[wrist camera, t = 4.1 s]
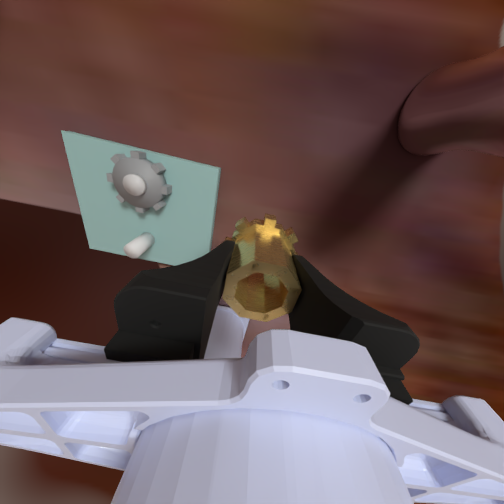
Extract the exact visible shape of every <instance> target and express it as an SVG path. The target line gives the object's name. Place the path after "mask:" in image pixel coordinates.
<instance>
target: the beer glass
mask: <svg viewBox="0 0 504 504" xmlns="http://www.w3.org/2000/svg"><path fill="white" fill-rule="evenodd" d="M398 137H399V140H400V143H401V144H402V146H403V147H404V148H405V149H406V150H407V151H408V152H410V153H412V154H415V155H421V156H424V155H433V154H438V153H443V152H448V151H454V150H466V151H473V152H479V153H484V154H488V155H493V156H497V157H502V158H504V46H503V47H501V48H499V49H497V50H495V51H492V52H490V53H488V54H486V55H483V56H481V57H478V58H474V59H471V60H466V61H460V62H455V63H451V64H448V65H445V66H442V67H440V68H438V69H437V70H435V71H433V72H432V73H430V74H429V75H428V76H427V77H425V78H424V79H423V80H422V81H421V82H420V83H419V84H418V85H417V86H416V87H415V88H414V90H413V91H412V92H411V94H410V95H409V97H408V98H407V100H406V102H405V104H404V106H403V108H402V110H401V113H400V117H399V121H398Z"/></svg>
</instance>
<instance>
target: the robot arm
mask: <svg viewBox="0 0 504 504" xmlns="http://www.w3.org/2000/svg"><path fill="white" fill-rule="evenodd" d="M235 243H236V242H235V241H230V240H225V241H224V242H223V243H222V244H220V245H219V246H218V247H216V248H215V249H213V250H212V251H210V252H209V253H207V254H205V255H204V256H202V257H199V258H197V259H195V260H192V261H189V262H186V263H183V264H180V265H176V266H171V267H166V268H160V269H153V270H143V271H141V272H140V273H138V274H137V275H136V276H135V277H134V278H133V279H132V280H131V281H130V282H129V283H128V284H127V285H126V286H125V287H124V288H123V289H122V290H121V291H120V292H119V293H118V294H117V295H116V297H115V300H114V309H115V314H116V319H117V323H118V328H119V330H118V332H117V333H116V334H115V335H114V337H113V338H112V339H111V340H110V342H109V343H108V344H107V345H106V347H104V346H99V345H93V344H87V343H81V342H75V341H70V340H64V339H58V338H57V335H56V332H55V330H54V329H53V327H52V326H50V325H49V324H46V323H43V322H37V321H32V320H27V319H21V318H10V319H8V320H7V321H5V322H4V323H2V324H1V325H0V445H4V446H10V447H16V448H21V449H25V450H30V451H36V452H41V453H45V454H49V455H54V456H59V457H63V458H68V459H72V460H77V461H82V462H86V463H91V464H96V465H100V466H105V467H109V468H114V469H119V470H123V471H124V474H123V476H122V478H121V481H120V483H119V486H118V488H117V490H116V493H115V495H114V497H113V500H112V502H111V504H414V503H413V502H419V503H440V504H441V503H442V504H504V422H503V421H502V419H501V418H500V417H499V416H498V415H497V414H496V413H495V412H494V411H493V409H492V408H491V407H490V406H489V405H488V404H487V403H486V402H485V400H482V399H479V398H473V397H467V396H461V395H456V396H452V397H450V398H448V399H446V400H445V401H444V402H443V403H442V404H440V403H434V402H428V401H422V400H417V399H412V398H411V396H410V395H409V393H408V391H407V390H406V388H405V387H404V385H403V383H402V382H401V380H404V375H403V373H402V372H401V370H400V368H401V367H402V366H403V365H405V364H406V363H407V362H408V361H409V360H410V359H411V358H412V357H413V356H414V355H415V354H416V353H417V351H418V349H419V346H420V343H419V339H418V337H417V336H416V335H415V333H414V332H413V331H412V330H411V329H410V327H409V326H408V325H407V324H406V323H404V322H402V321H399V320H397V319H395V318H392V317H390V316H388V315H386V314H383V313H381V312H379V311H377V310H375V309H373V308H371V307H369V306H367V305H366V304H364V303H362V302H360V301H358V300H357V299H355V298H353V297H352V296H350V295H349V294H347V293H346V292H344V291H343V290H341V289H340V288H338V287H337V286H336V285H334V284H333V283H332V282H330V281H329V280H328V279H327V278H326V277H324V276H323V275H322V274H321V273H320V272H319V271H318V270H317V269H316V268H315V267H313V266H312V265H311V264H310V263H309V262H308V261H307V260H306V259H305V258H304V257H302V256H299V255H295V254H293V255H292V258H293V262H294V265H295V268H296V272H297V275H298V279H299V282H300V285H301V289H302V290H301V293H300V295H299V297H298V299H297V301H296V303H295V306H294V308H293V310H292V312H290V313H288V315H289V321H290V330H288V329H271V330H268V331H265V332H263V333H260V334H258V335H257V336H256V337H255V338H254V339H253V341H252V342H251V343H250V345H249V348H248V350H247V353H246V355H245V357H244V358H241V350H242V342H243V339H244V335H245V332H246V329H247V326H248V323H249V318H244V317H239V316H238V315H237V314H236V313H235V312H234V311H233V309H232V308H230V307H225V306H220V305H218V304H219V301H220V299H221V296H222V293H223V291H224V287H225V281H226V276H227V271H228V268H229V264H230V261H231V257H232V253H233V251H234V247H235Z"/></svg>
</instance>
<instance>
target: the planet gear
mask: <svg viewBox="0 0 504 504" xmlns="http://www.w3.org/2000/svg"><path fill="white" fill-rule="evenodd" d="M235 228H236V229H237V230H236V231H234V234H233V237H232V238H229V237H226V239H225V240H230V241H235V242H236V243H235V247H234V251H233V253H232V257H231V261H230V264H229V268H228V271H227V276H226V281H225V287H224V292H223V297H222V299H223V300H224V301H225V302H226V303H227V304H228V305H229V306H230V307H231V308H232V309H233V311H234V312H235V313H236V314H237V315H238V316H239V317H244V318H249V319H254V320H259V321H265V322H267V321H270V320H272V319H275V318H277V317H280V316H282V315H285V314H288V313H290V312H292V310H293V308H294V306H295V303H296V301H297V299H298V297H299V295H300V293H301V290H302V289H301V285H300V282H299V279H298V275H297V272H296V268H295V265H294V262H293V258H292V255H293V254H295V255H298V254H297V252H295V249H294V246H293V244H294V243H296V242H298V239H297V237H296V235H295V233H294V231H293V229H292V228H289V229H287V230H286V231H285V230H284V228H283V227H282V225H281V224H277V223H276V216H274V215H270V214H265V217H264V220H260V219H254V220H253V221H251V222H248V220H247V219H246V217H244V218H242V219H241V220H239V221H237V223H236V225H235Z"/></svg>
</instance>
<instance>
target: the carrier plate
mask: <svg viewBox="0 0 504 504" xmlns="http://www.w3.org/2000/svg"><path fill="white" fill-rule="evenodd" d="M61 132H62V136H63V141H64V145H65V149H66V153H67V157H68V161H69V165H70V169H71V173H72V177H73V181H74V185H75V190H76V194H77V198H78V202H79V206H80V210H81V214H82V218H83V222H84V226H85V230H86V234H87V238H88V243H89V247H90V249H95V250H100V251H106V252H110V253H115V254H120V255H125V256H129V257H131V258H139V259H144V260H149V261H154V262H159V263H164V264H169V265H174V266H176V265H180V264H183V263H186V262H189V261H192V260H195V259H197V258H199V257H202V256H204V255H205V254H207V253H209V252H210V251H211V245H212V237H213V229H214V221H215V213H216V205H217V197H218V189H219V181H220V173H221V168H219V167H215V166H211V165H206V164H202V163H198V162H194V161H190V160H186V159H182V158H178V157H174V156H169V155H165V154H161V153H157V152H153V151H149V150H145V149H141V148H137V147H133V146H128V145H124V144H120V143H116V142H112V141H108V140H104V139H100V138H96V137H91V136H87V135H83V134H79V133H75V132H70V131H61Z"/></svg>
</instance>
